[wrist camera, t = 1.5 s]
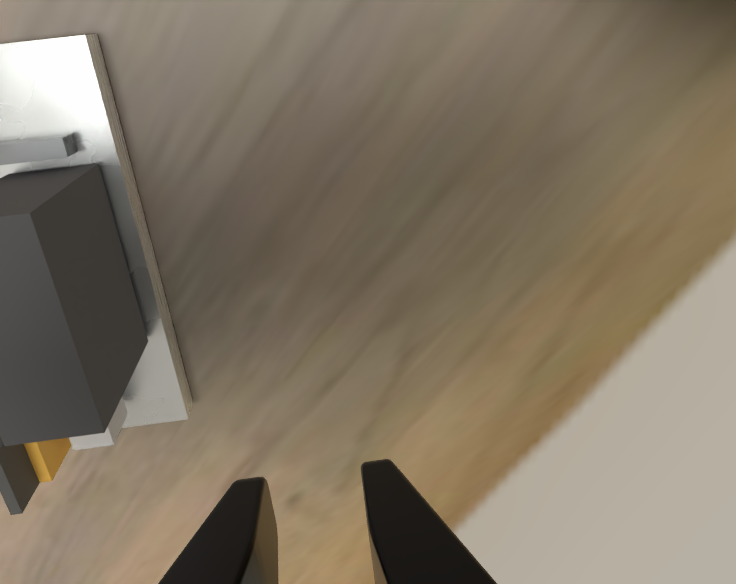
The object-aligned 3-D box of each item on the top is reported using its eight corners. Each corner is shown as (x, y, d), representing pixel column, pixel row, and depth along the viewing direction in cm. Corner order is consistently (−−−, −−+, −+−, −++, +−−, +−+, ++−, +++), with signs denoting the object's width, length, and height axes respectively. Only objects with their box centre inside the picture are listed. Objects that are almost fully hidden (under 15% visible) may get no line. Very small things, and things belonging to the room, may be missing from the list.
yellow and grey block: (60, 377, 19) (10, 452, 16) (79, 429, 20) (35, 511, 17) (28, 381, 19) (-30, 457, 16) (48, 434, 20) (-3, 516, 17)
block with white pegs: (97, 163, 17) (29, 213, 13) (166, 404, 20) (130, 507, 16) (-124, 189, 17) (-268, 248, 12) (-17, 429, 20) (-102, 540, 16)
